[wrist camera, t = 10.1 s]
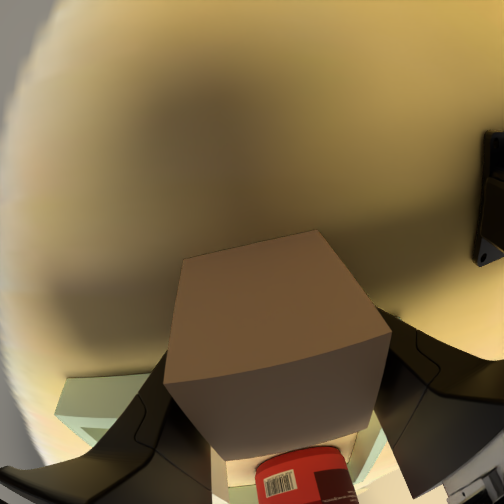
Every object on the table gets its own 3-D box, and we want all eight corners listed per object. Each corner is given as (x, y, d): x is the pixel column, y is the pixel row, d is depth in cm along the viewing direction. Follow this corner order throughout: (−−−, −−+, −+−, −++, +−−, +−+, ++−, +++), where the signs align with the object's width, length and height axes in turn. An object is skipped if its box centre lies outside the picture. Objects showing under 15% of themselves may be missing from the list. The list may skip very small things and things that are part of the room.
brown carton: (316, 229, 9) (391, 331, 5) (324, 327, 11) (367, 428, 7) (183, 259, 9) (163, 383, 5) (218, 351, 11) (224, 461, 7)
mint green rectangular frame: (398, 316, 12) (425, 352, 10) (356, 462, 22) (363, 481, 20) (67, 378, 12) (53, 414, 9) (199, 491, 22) (200, 510, 20)
